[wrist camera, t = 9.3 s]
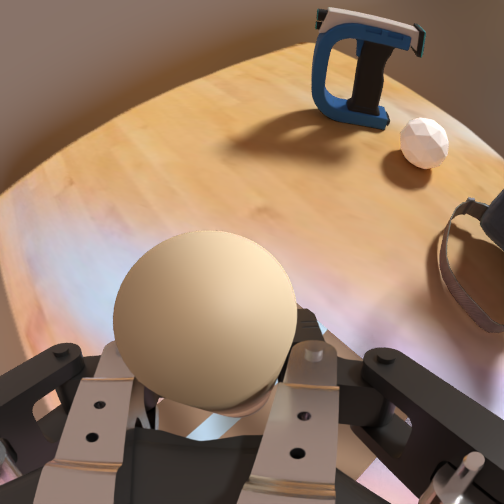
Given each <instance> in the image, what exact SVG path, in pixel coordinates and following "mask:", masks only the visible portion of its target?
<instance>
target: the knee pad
mask: <svg viewBox="0 0 504 504" xmlns="http://www.w3.org/2000/svg"><path fill="white" fill-rule="evenodd" d="M466 213H467V214H469V215H471V216H473V217H475V218H476V219H478V220H479V221H480V226H481V227H482V229H483V230H484V232H485V234H486V235H487V236H488V237H489V238H490V239H491V240H492V241H493V242H494V243H495V244H496V245H498V246H499V247H500V248H501V249H502V250H503V251H504V189H503V190H502V191H501V193H500V194H499V195H498V196H497V197H496V198H495V199H494V200H493V201H492V203H491V204H490V206H489V205H487V204H485V203H480V202H476V201H475V198H469V197H468V199H467V200H466V202H463V203H461V204H460V205H459V206H458V207H456V209H455V211H454V212H453V214H452V216H451V218H450V220H449V222H448V224H447V225H446V227H445V230H444V235H443V240H442V244H441V250H440V265H439V266H440V270H441V274H442V278H443V279H444V281H445V283H446V285H447V287H448V289H449V291H450V292H451V294H452V295H453V296H454V298H455V299H456V301H457V302H458V303H459V304H460V305H461V306H462V308H463V309H464V310H465V311H466V312H467V313H468V314H469V316H470V317H471V318H472V319H473V320H474V321H475V322H476V324H477V325H478V326H479V327H480V328H482V329H484V330H485V331H487V332H492V333H500V332H503V331H504V325H501V324H498V323H497V322H495V321H493V320H492V319H491V318H490V317H489V316H488V315H487V314H486V313H485V312H484V311H483V310H482V309H481V308H480V307H479V306H478V305H477V304H476V302H475V301H474V300H473V299H472V298H471V297H470V296H469V295H468V294H467V293H466V292H465V290H464V289H463V288H462V287H461V285H460V284H459V283H458V281H457V279H456V278H455V276H454V274H453V272H452V270H451V269H450V266H449V262H448V258H447V241H448V235H449V230H450V225H451V220H452V219H453V218H454V217H455V216H457V215H460V214H462V215H465V214H466Z"/></svg>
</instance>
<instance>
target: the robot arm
mask: <svg viewBox="0 0 504 504" xmlns="http://www.w3.org/2000/svg"><path fill="white" fill-rule="evenodd" d="M54 389H55V390H56V392H57V395H58V397H59V400H60V402H61V405H59V406H58V407H57V408H55V409H54V410H52V411H51V412H50V413H48V414H47V415H45V416H44V417H43V418H41V419H40V420H39V421H37V422H36V420H35V418H34V416H33V413H32V409H33V406H34V404H35V403H36V402H37V401H38V400H39V399H41V398H42V397H44V396H45V395H47V394H48V393H50V392H51V391H53V390H54ZM159 398H165V397H162V396H160V395H158V394H156V393H155V392H153V391H152V390H150V389H148V388H147V387H146V386H145V385H143V384H142V383H141V382H140V381H139V380H138V379H137V378H136V377H135V376H134V375H133V374H132V373H131V371H130V370H129V369H128V367H127V366H126V364H125V363H124V361H123V359H122V357H121V355H120V353H119V350H118V347H117V344H116V341H115V340H114V341H112V342H110V343H109V344H107V345H106V346H105V347H104V349H103V352H102V355H99V356H87V357H83V355H82V352H81V348H80V347H79V346H78V345H76V344H73V343H62V344H57V345H54V346H52V347H50V348H49V349H47V350H45V351H43V352H41V353H40V354H38V355H36V356H34V357H33V358H31V359H29V360H27V361H26V362H24V363H22V364H21V365H19V366H17V367H15V368H14V369H12V370H10V371H8V372H7V373H5V374H3V375H1V376H0V504H391V503H389V502H388V501H386V500H384V499H383V498H381V497H380V496H378V495H376V494H375V493H373V492H372V491H370V490H369V489H367V488H366V487H364V486H363V485H361V484H360V483H358V482H357V481H355V480H354V479H352V478H351V477H349V476H348V475H346V474H345V473H343V472H342V471H341V470H339V469H338V468H336V458H337V441H338V424H346V425H350V428H351V430H352V432H353V433H354V434H355V435H356V436H357V437H358V438H359V439H360V440H361V441H362V442H363V443H364V444H365V445H366V446H367V447H368V448H369V449H370V450H371V452H372V453H373V454H374V455H375V456H376V457H377V458H378V459H379V460H380V461H381V462H382V463H383V464H384V465H385V466H386V467H387V468H388V469H389V470H390V471H391V472H392V473H393V474H394V475H395V476H396V477H397V478H398V479H399V480H400V481H401V482H402V483H403V484H404V485H405V486H406V487H407V488H408V489H409V490H410V491H411V492H412V493H413V494H414V495H415V496H416V497H417V498H418V499H419V502H418V504H504V420H503V419H501V418H500V417H498V416H497V415H495V414H494V413H492V412H491V411H489V410H487V409H486V408H484V407H483V406H481V405H480V404H478V403H477V402H475V401H474V400H472V399H471V398H469V397H468V396H466V395H465V394H463V393H462V392H460V391H459V390H457V389H456V388H454V387H453V386H451V385H450V384H448V383H447V382H445V381H444V380H442V379H441V378H439V377H438V376H436V375H435V374H433V373H432V372H430V371H429V370H427V369H426V368H424V367H423V366H421V365H420V364H418V363H417V362H415V361H414V360H412V359H411V358H409V357H408V356H406V355H405V354H403V353H402V352H400V351H398V350H395V349H391V348H374V349H371V350H369V351H367V352H366V353H365V355H364V358H363V361H358V360H349V359H344V358H341V357H338V356H337V351H336V349H335V347H333V346H332V345H331V344H329V343H326V342H325V340H324V337H323V334H322V332H321V329H320V327H319V324H318V322H317V319H316V317H315V314H314V313H312V312H311V311H310V310H308V309H297V324H296V330H295V335H294V338H293V341H292V345H291V347H290V350H289V352H288V355H287V357H286V359H285V362H284V364H283V367H282V369H281V371H280V374H279V376H278V387H277V391H276V394H275V398H274V401H273V404H272V408H271V411H270V415H269V418H268V421H267V424H266V428H265V431H264V434H263V435H240V436H234V437H228V438H221V439H214V440H206V441H198V440H193V439H190V438H186V437H183V436H179V435H176V434H172V433H169V432H166V431H163V430H158V425H159V409H158V405H157V402H158V399H159ZM396 407H397V408H399V409H400V410H401V411H402V412H403V413H405V414H406V415H407V416H408V417H409V419H410V421H411V423H412V427H411V426H409V425H408V424H407V423H406V422H405V421H404V420H402V419H401V418H400V417H399V416H398V415H396V414H395V413H394V411H395V408H396Z"/></svg>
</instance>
